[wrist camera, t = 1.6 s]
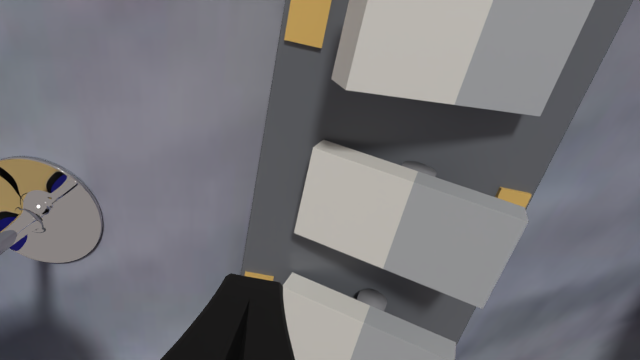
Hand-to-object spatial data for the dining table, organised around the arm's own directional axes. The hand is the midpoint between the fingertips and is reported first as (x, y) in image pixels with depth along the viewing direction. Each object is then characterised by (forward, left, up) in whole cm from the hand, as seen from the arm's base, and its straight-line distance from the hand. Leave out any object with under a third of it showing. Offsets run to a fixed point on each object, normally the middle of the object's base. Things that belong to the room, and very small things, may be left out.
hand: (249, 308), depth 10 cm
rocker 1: (-4, -7, -8) cm, 11 cm away
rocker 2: (-6, 0, -8) cm, 10 cm away
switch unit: (-5, 0, -10) cm, 12 cm away
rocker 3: (-6, +7, -8) cm, 12 cm away
